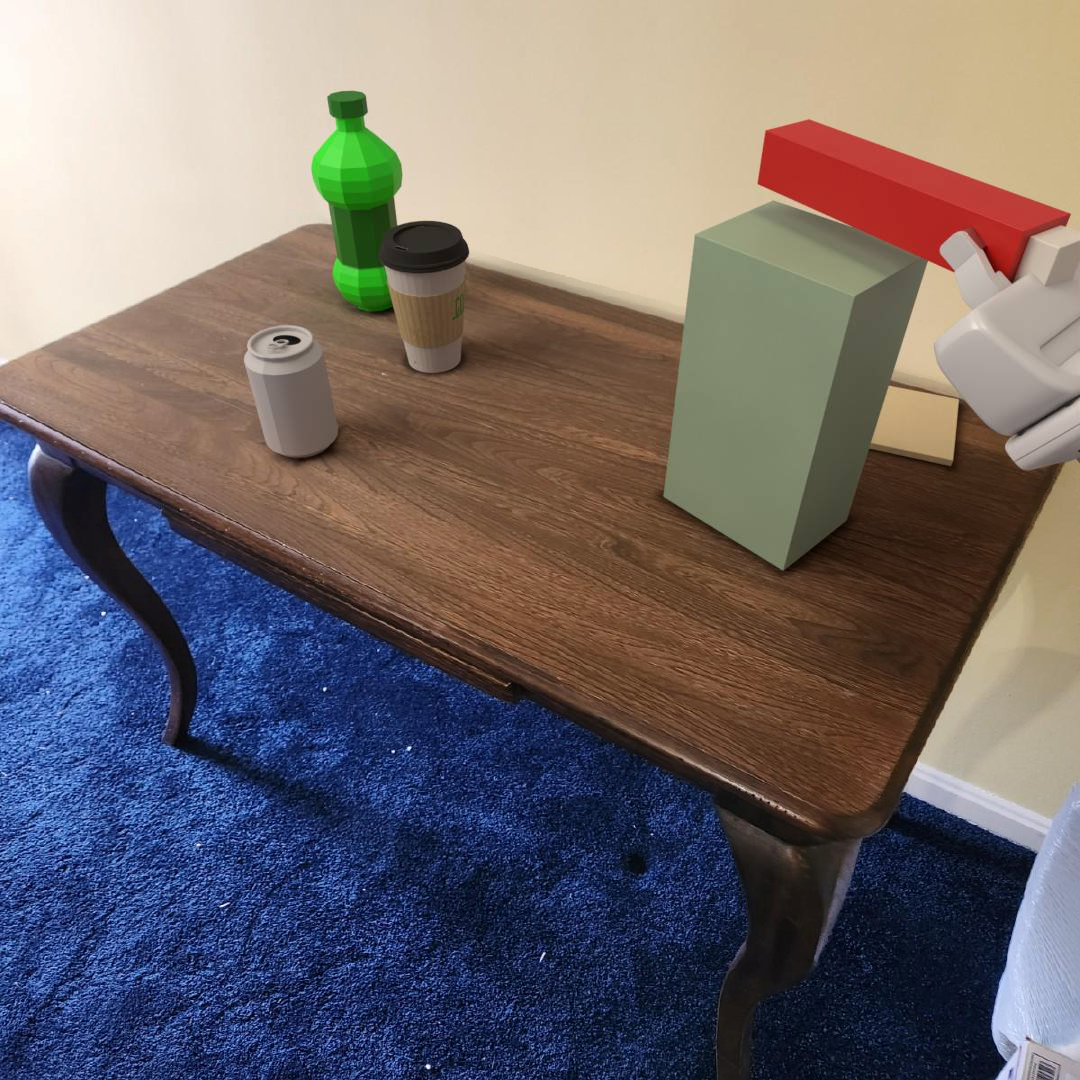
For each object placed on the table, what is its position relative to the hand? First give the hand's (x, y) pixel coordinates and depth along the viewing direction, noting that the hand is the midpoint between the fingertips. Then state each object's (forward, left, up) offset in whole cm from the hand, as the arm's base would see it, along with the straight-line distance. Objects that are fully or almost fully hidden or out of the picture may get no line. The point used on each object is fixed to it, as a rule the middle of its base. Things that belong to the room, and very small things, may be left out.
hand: (976, 223), depth 55 cm
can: (+56, +2, -31) cm, 64 cm away
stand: (+10, -5, -31) cm, 33 cm away
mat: (+3, -25, -31) cm, 39 cm away
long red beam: (+4, -3, -2) cm, 6 cm away
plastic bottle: (+65, -28, -31) cm, 77 cm away
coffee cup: (+51, -18, -31) cm, 62 cm away
